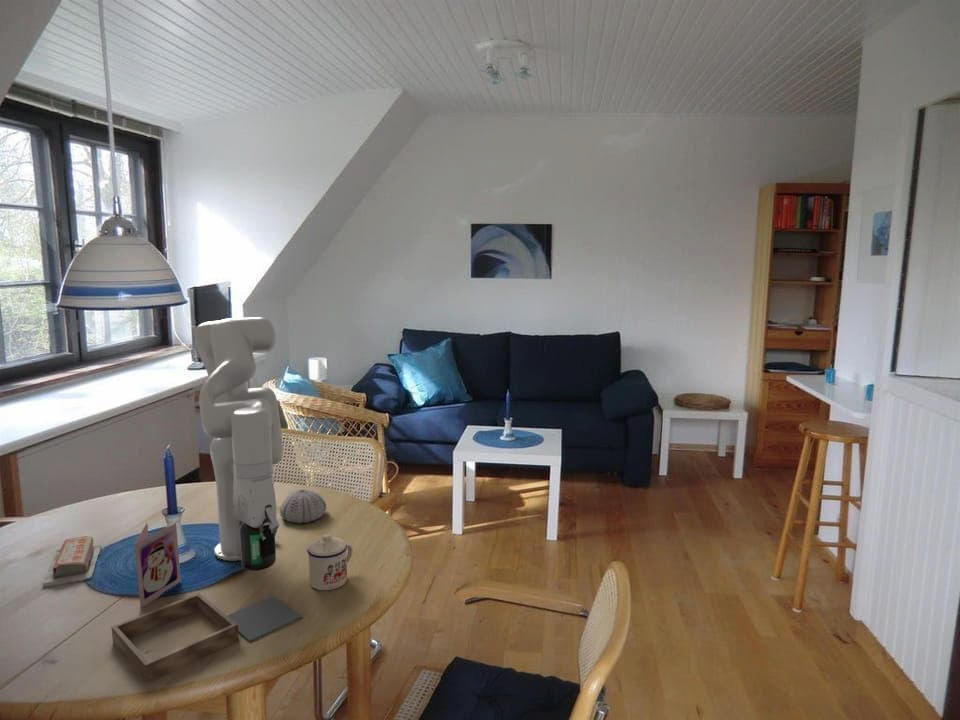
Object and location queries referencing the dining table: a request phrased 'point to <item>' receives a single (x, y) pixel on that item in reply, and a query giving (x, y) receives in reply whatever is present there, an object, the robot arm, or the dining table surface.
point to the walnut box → (183, 654)
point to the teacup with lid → (328, 562)
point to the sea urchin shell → (302, 506)
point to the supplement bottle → (253, 549)
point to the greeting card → (157, 562)
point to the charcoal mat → (263, 618)
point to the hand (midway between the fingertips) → (258, 549)
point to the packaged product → (73, 562)
